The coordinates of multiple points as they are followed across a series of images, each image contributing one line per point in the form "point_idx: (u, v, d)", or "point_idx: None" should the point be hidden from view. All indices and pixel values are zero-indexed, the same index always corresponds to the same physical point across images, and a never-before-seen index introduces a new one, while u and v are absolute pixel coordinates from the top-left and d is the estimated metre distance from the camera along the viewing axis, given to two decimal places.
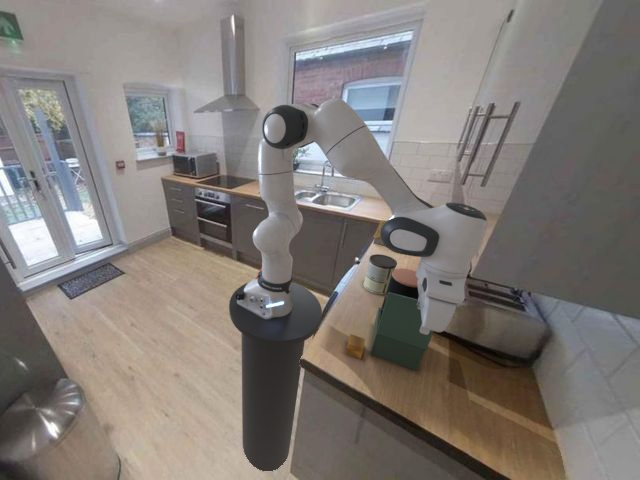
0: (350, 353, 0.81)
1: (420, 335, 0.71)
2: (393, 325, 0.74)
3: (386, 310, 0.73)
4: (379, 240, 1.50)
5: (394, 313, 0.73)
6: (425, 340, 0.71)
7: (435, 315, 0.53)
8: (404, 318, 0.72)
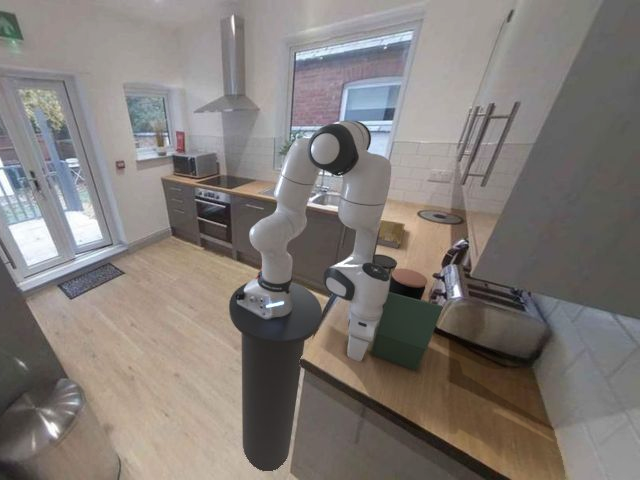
0: None
1: (420, 335, 0.71)
2: (393, 325, 0.74)
3: (386, 310, 0.73)
4: (379, 240, 1.50)
5: (394, 313, 0.73)
6: (425, 340, 0.71)
7: (354, 349, 0.70)
8: (404, 318, 0.72)
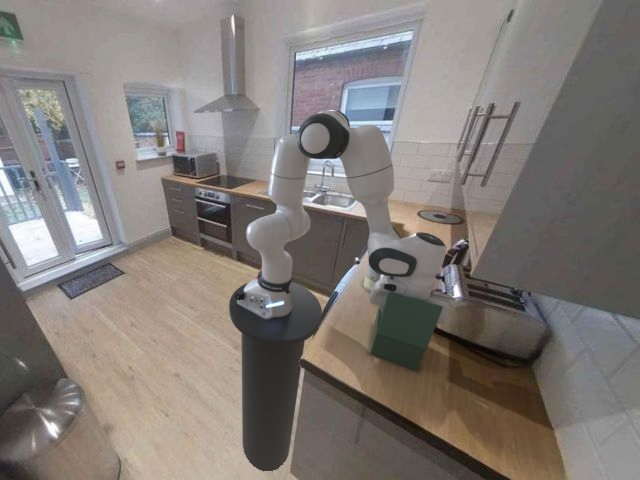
0: None
1: (420, 335, 0.71)
2: (393, 325, 0.74)
3: (386, 310, 0.73)
4: None
5: (394, 313, 0.73)
6: (425, 340, 0.71)
7: (373, 288, 0.81)
8: (404, 318, 0.72)
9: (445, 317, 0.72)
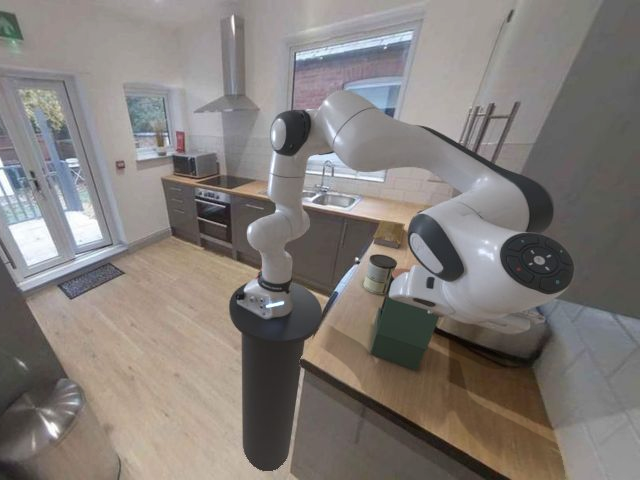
0: None
1: (420, 335, 0.71)
2: (393, 325, 0.74)
3: (386, 310, 0.73)
4: (379, 240, 1.50)
5: (394, 313, 0.73)
6: (425, 340, 0.71)
7: (396, 283, 0.51)
8: (404, 318, 0.72)
9: (515, 332, 0.44)
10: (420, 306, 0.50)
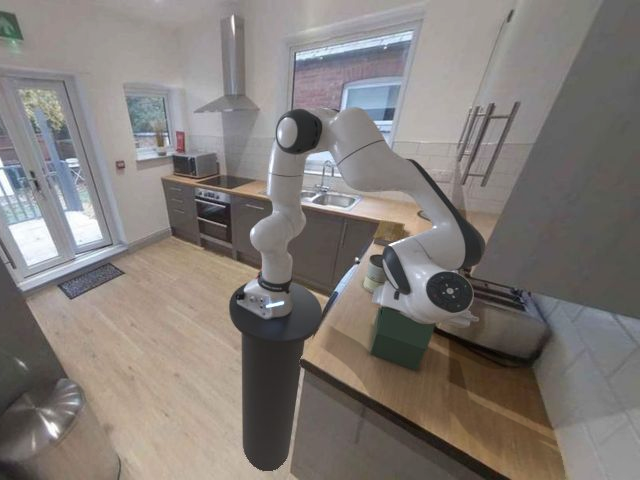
0: None
1: (420, 334, 0.71)
2: (393, 324, 0.74)
3: (386, 309, 0.74)
4: (379, 240, 1.50)
5: (394, 312, 0.73)
6: (425, 339, 0.71)
7: (375, 292, 0.67)
8: (404, 317, 0.72)
9: (463, 327, 0.59)
10: None
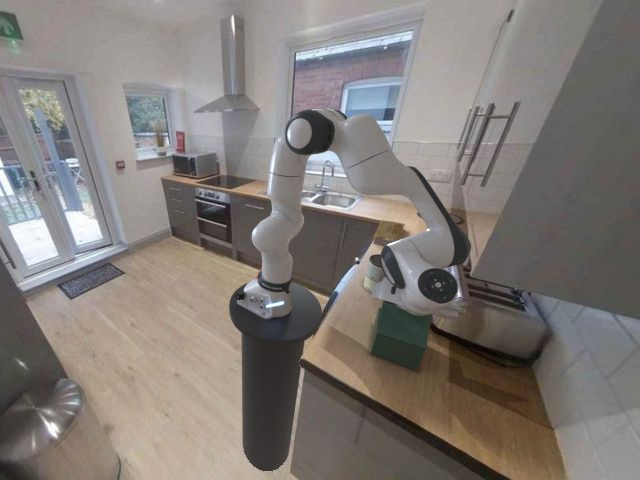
0: None
1: (418, 331, 0.74)
2: (392, 321, 0.77)
3: (384, 305, 0.79)
4: (379, 240, 1.50)
5: (392, 308, 0.78)
6: (424, 336, 0.73)
7: (375, 288, 0.74)
8: (401, 313, 0.77)
9: (452, 318, 0.67)
10: None
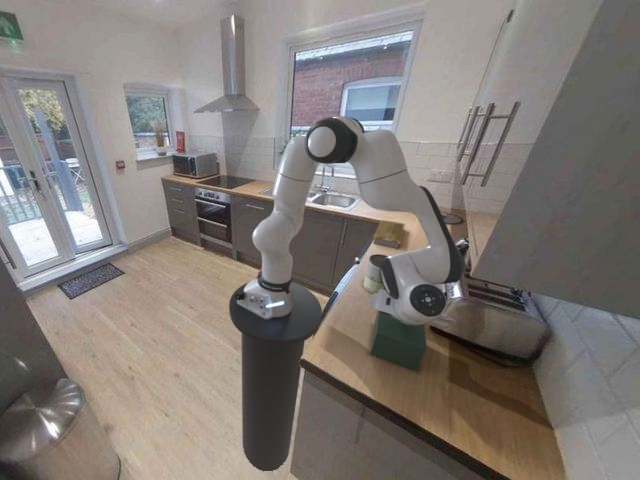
0: None
1: (415, 334, 0.76)
2: (390, 325, 0.79)
3: (381, 313, 0.84)
4: (379, 240, 1.50)
5: (388, 316, 0.82)
6: (421, 339, 0.74)
7: (371, 298, 0.79)
8: (397, 320, 0.81)
9: (443, 328, 0.71)
10: None
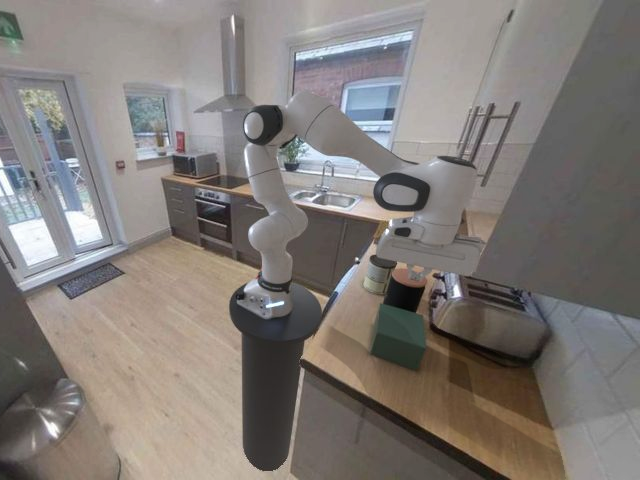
0: None
1: (415, 334, 0.76)
2: (390, 325, 0.79)
3: (381, 314, 0.84)
4: None
5: (388, 316, 0.82)
6: (421, 339, 0.74)
7: (380, 239, 0.66)
8: (397, 320, 0.81)
9: (474, 267, 0.56)
10: (401, 257, 0.63)
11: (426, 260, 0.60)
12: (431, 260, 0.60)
